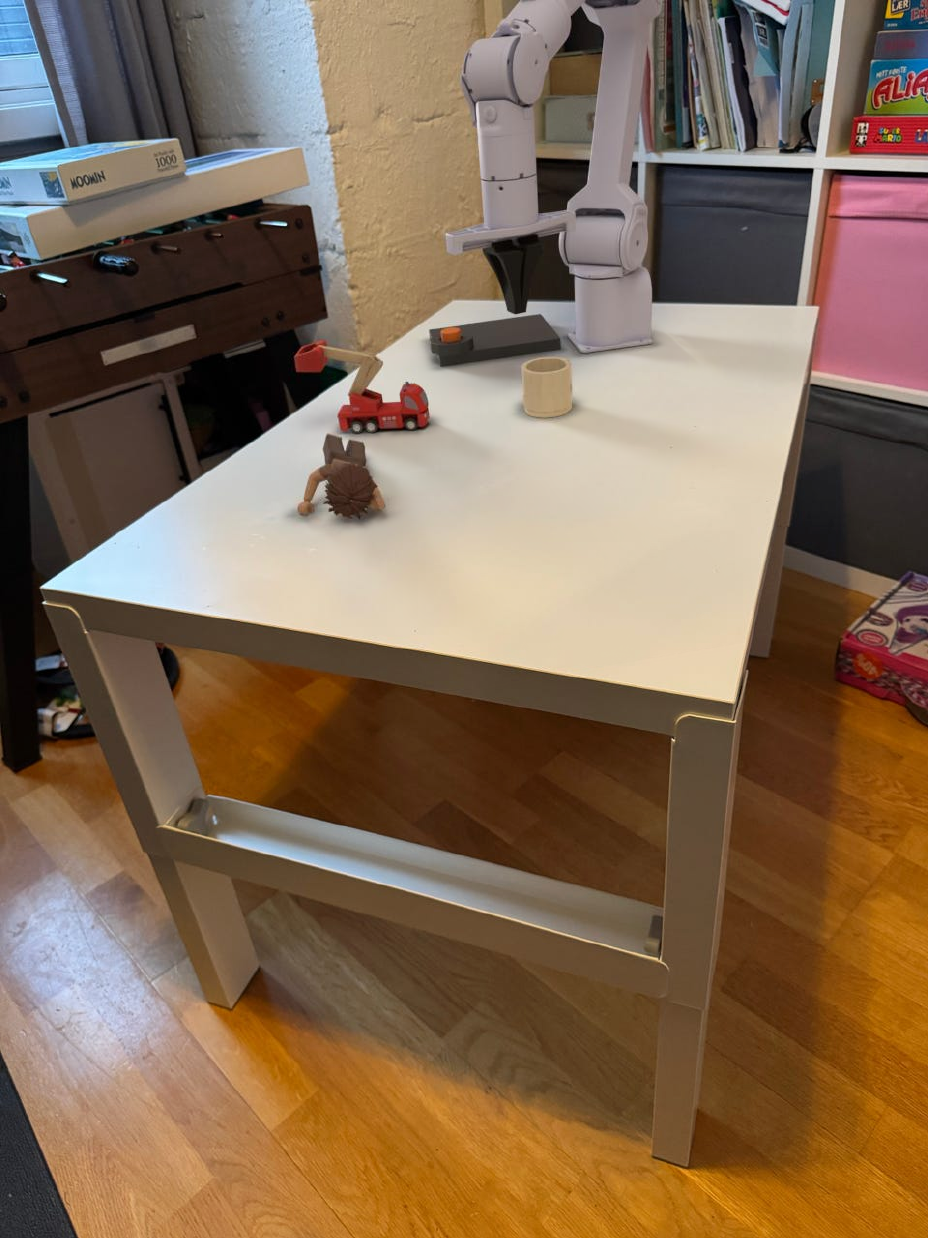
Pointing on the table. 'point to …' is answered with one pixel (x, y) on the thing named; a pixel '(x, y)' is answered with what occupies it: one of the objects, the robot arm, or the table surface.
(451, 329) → the button
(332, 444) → the figurine
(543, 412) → the small cup
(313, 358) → the toy fire truck
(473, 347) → the scale
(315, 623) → the table surface
